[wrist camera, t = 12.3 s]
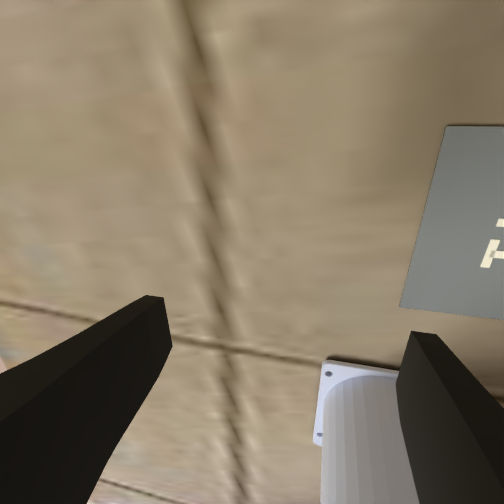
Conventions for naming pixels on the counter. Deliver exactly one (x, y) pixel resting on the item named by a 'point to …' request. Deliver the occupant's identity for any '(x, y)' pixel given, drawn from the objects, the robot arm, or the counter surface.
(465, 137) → the tile
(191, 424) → the counter surface
